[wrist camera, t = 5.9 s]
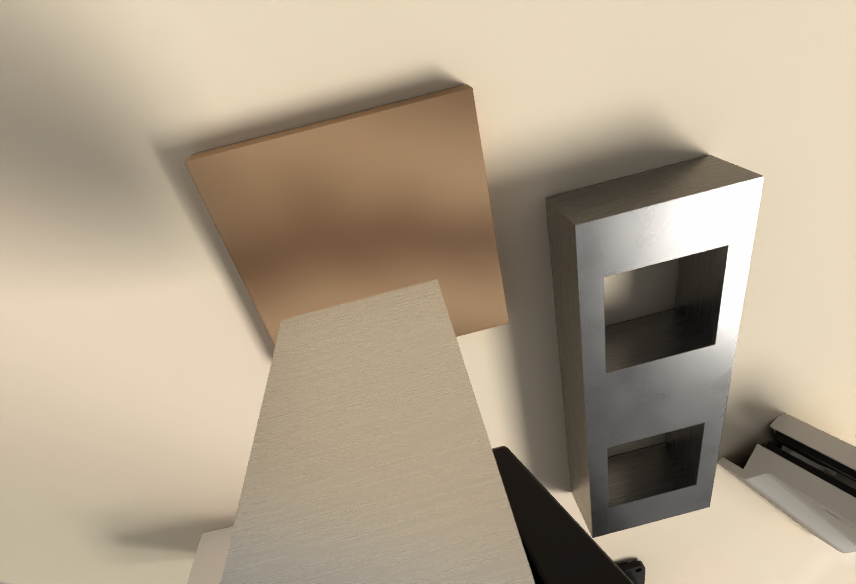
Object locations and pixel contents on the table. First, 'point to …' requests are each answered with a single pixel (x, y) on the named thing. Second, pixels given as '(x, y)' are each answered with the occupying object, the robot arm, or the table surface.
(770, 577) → the table surface
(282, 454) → the steel plug
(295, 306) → the walnut pad
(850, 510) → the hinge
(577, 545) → the robot arm
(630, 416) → the grey cinder block
